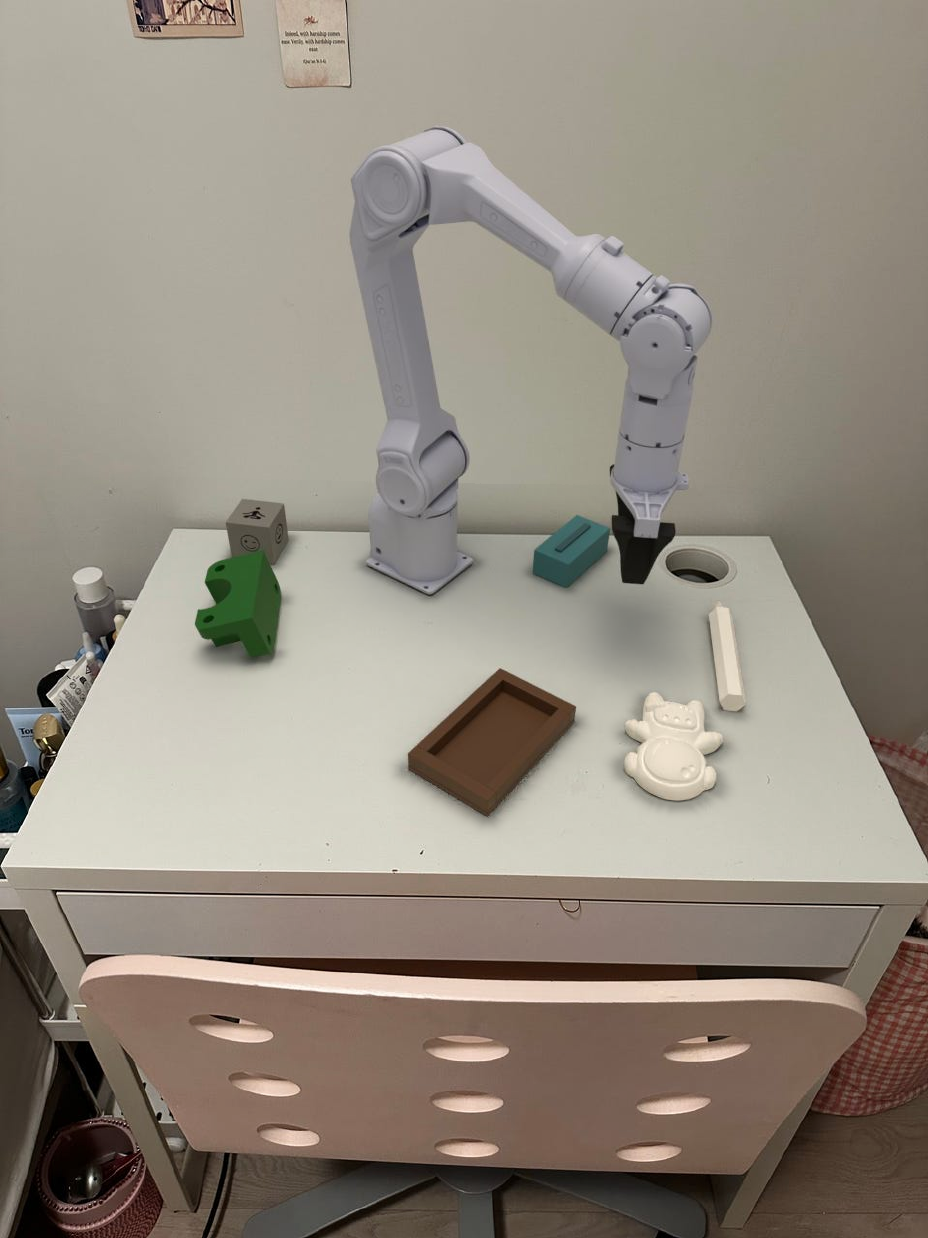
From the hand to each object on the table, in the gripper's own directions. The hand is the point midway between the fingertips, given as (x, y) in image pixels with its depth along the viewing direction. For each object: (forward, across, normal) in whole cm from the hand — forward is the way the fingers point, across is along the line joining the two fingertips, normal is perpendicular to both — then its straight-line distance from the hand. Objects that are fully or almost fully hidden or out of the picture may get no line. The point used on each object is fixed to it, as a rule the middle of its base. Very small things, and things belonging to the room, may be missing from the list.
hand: (631, 558), depth 90 cm
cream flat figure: (+10, -16, -4) cm, 19 cm away
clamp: (+10, -4, +39) cm, 40 cm away
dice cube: (+10, +10, +41) cm, 43 cm away
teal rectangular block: (+10, +12, +5) cm, 16 cm away
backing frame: (+10, -17, +12) cm, 23 cm away
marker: (+10, -2, -10) cm, 14 cm away
